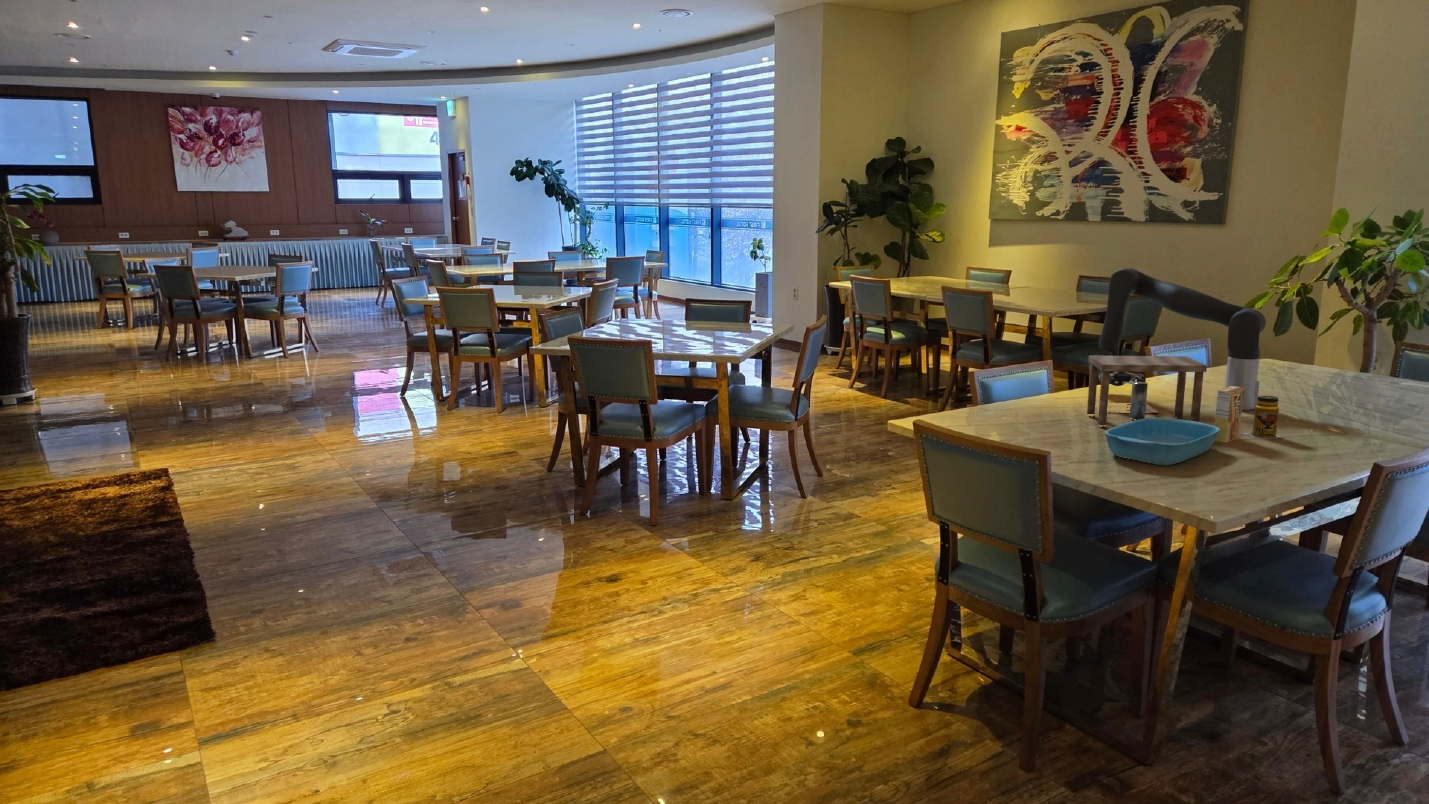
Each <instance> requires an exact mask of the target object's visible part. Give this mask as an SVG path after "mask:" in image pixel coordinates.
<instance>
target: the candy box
mask: <svg viewBox="0 0 1429 804" xmlns="http://www.w3.org/2000/svg"><path fill="white" fill-rule="evenodd" d="M1244 390H1245V388H1242V387H1235V386H1230V387H1226V388H1225V387H1224V388H1220V389H1218V390H1217V398H1216V399H1217V400H1216V405H1215V406H1216V407H1215V408H1216V409H1215V415H1214V417H1215V418H1214V425H1213V426H1216V427H1218V428H1219V429H1220V430H1219V432H1218V434H1217V436H1216V439H1215V441H1214V442H1219V443H1224V444H1226V443H1230V442H1232V441H1235V440H1237V439H1239V438H1240V434H1241V433H1240V430H1241V424H1242V423H1241V422H1242V416H1243V415H1242V413H1243V410H1242V407H1243V399H1244Z"/></svg>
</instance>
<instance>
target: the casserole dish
mask: <svg viewBox="0 0 1429 804" xmlns="http://www.w3.org/2000/svg"><path fill="white" fill-rule="evenodd" d="M1219 430H1220V429H1219V428H1218V427H1216V426H1214V425H1212V424H1207V423H1202V422H1200V421H1199V422H1195V421H1190V420H1187V419H1177V418H1165V417H1145V418H1144V419H1139V420H1135V421H1133V420H1131V421H1129V422H1126V423H1123V424H1120V425H1117V426H1114V427H1111V428H1108V429H1107V430H1105V431H1104V435H1105V437H1106V442H1107V446H1108V448H1109V450H1110V452H1111V453H1112V454H1113V455H1114V454H1115V455H1114V456H1116V455H1118V456H1121V457H1127V458H1130V459H1134V460H1139V461H1138V462H1140V461H1143V462H1142V463H1145V462H1147V464H1151V463H1153V464H1152V465H1156V466H1157V465H1158V466H1171V465H1172V464H1173V465H1175V464H1176V463H1177V464H1179V463H1182V462H1185V461H1187V460H1189V459H1192V458H1195V457H1198V456H1199V455H1201V454H1204V453H1205V452H1207V451H1208V450H1210V449H1211V448H1212V447H1213V444H1214V443H1215V442H1216V441H1215V439H1216V436H1217V434H1218V432H1219ZM1134 460H1133V461H1134ZM1177 464H1176V465H1177Z"/></svg>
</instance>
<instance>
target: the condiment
mask: <svg viewBox="0 0 1429 804" xmlns="http://www.w3.org/2000/svg"><path fill="white" fill-rule="evenodd" d="M1257 399H1258V401H1257V405H1256V406H1255V409H1254V417H1253V418H1254V419H1253V424H1252V431H1251V432H1250V431H1249V432H1241V434H1243V435H1246V436H1250V437H1253V438H1255V439H1256V438H1257V439H1260V440H1274V439H1279V438H1282V436H1280V435H1277V429H1278V422H1279V421H1278V420H1279V414H1280V407H1279V406H1278V405H1279V398H1278V397H1277V396H1273V395H1258V398H1257Z"/></svg>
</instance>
